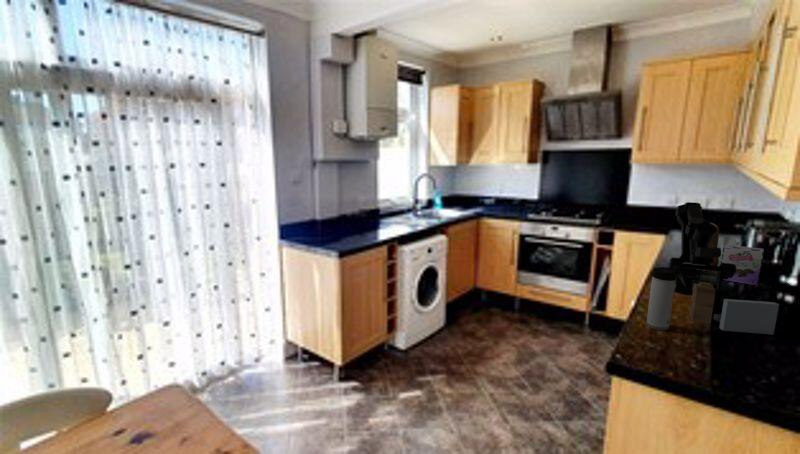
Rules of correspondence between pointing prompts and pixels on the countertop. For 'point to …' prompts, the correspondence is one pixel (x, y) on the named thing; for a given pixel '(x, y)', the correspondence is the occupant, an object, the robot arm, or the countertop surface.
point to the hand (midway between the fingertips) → (701, 288)
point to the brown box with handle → (702, 303)
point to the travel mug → (661, 298)
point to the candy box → (743, 263)
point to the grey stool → (748, 316)
